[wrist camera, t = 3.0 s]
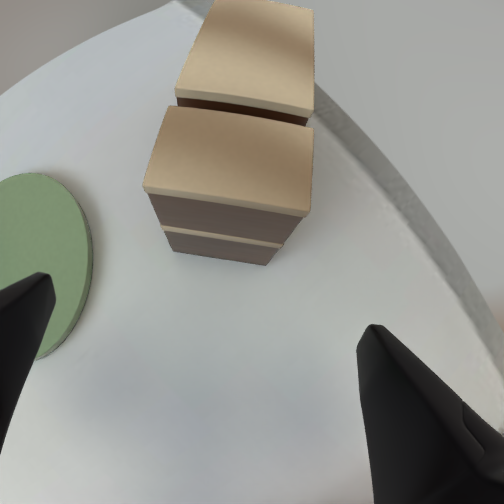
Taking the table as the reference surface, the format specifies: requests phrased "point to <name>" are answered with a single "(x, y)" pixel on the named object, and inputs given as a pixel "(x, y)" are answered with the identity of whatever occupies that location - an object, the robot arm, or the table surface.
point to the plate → (46, 246)
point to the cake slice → (229, 182)
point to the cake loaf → (252, 62)
